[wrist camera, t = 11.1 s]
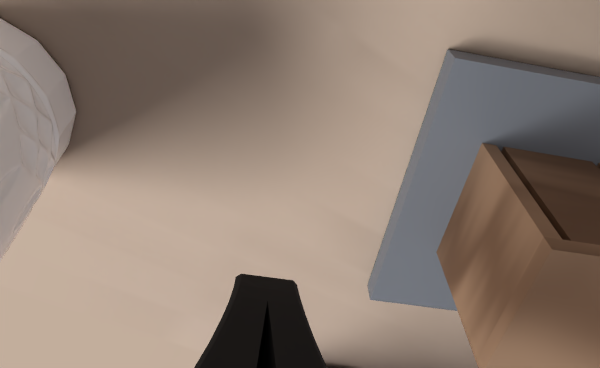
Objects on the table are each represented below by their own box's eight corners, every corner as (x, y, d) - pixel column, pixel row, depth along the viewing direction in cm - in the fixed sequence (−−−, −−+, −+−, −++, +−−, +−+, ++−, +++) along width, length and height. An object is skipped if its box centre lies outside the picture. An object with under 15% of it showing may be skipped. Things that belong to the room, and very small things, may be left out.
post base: (556, 309, 27) (605, 394, 23) (367, 285, 26) (382, 369, 22) (688, 93, 21) (788, 154, 17) (447, 49, 20) (490, 102, 16)
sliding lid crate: (552, 268, 25) (630, 392, 19) (436, 252, 24) (481, 375, 18) (612, 164, 22) (725, 274, 16) (481, 142, 21) (552, 249, 15)
